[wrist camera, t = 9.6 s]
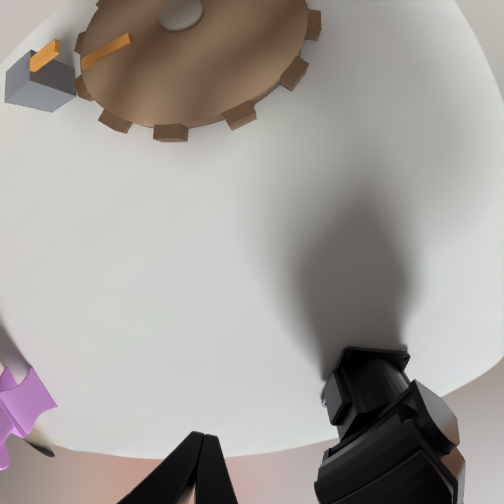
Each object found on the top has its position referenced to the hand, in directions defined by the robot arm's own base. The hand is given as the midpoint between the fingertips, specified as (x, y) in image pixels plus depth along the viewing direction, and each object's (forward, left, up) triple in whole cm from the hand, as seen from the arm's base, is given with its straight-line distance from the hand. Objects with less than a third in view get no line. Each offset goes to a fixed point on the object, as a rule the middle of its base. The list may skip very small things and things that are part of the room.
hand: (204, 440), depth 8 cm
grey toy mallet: (+17, -15, -13) cm, 26 cm away
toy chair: (+26, +21, -13) cm, 36 cm away
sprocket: (+7, -19, -13) cm, 24 cm away
